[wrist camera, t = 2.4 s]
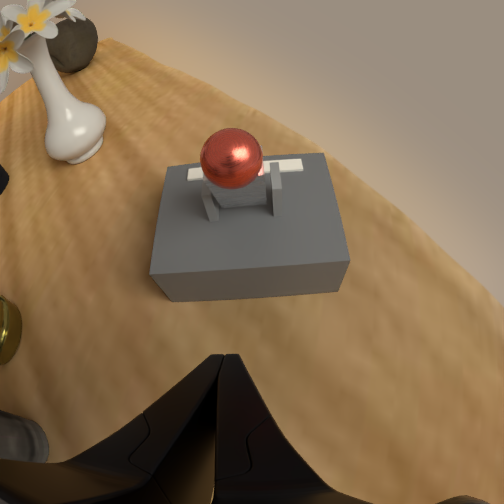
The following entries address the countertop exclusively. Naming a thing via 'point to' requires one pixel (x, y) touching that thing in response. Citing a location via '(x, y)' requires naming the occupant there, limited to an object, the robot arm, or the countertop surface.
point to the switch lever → (234, 168)
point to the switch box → (250, 235)
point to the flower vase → (49, 78)
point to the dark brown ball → (73, 45)
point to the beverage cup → (22, 439)
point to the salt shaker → (9, 329)
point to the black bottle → (3, 179)
